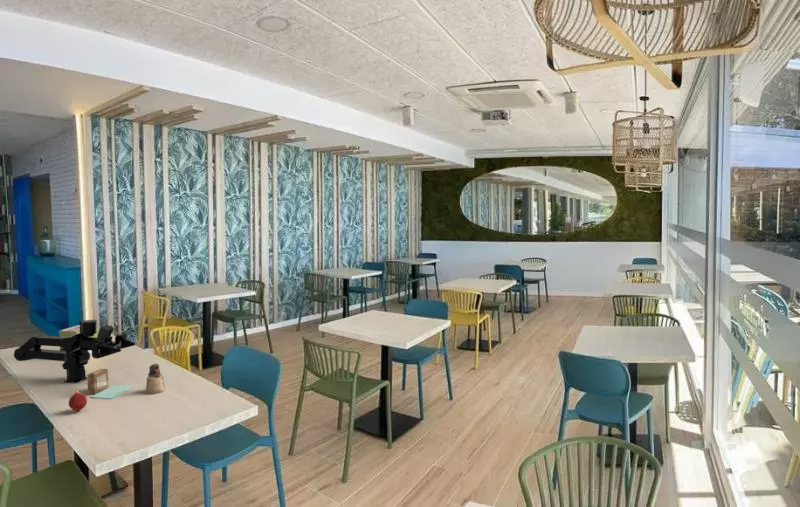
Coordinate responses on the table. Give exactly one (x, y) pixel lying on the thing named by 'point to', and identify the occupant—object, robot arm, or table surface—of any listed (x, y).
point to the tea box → (70, 332)
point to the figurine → (155, 380)
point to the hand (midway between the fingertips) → (127, 347)
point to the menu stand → (97, 381)
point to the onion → (77, 401)
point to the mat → (112, 392)
